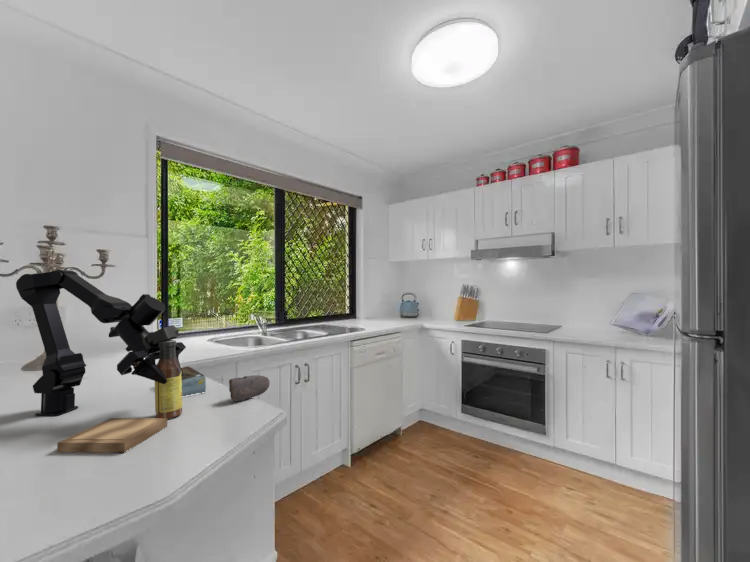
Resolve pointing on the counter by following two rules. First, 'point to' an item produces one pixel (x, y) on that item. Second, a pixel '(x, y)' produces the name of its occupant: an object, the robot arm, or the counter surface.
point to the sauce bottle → (168, 382)
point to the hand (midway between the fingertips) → (174, 379)
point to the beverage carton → (192, 381)
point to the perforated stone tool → (247, 387)
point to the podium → (113, 435)
